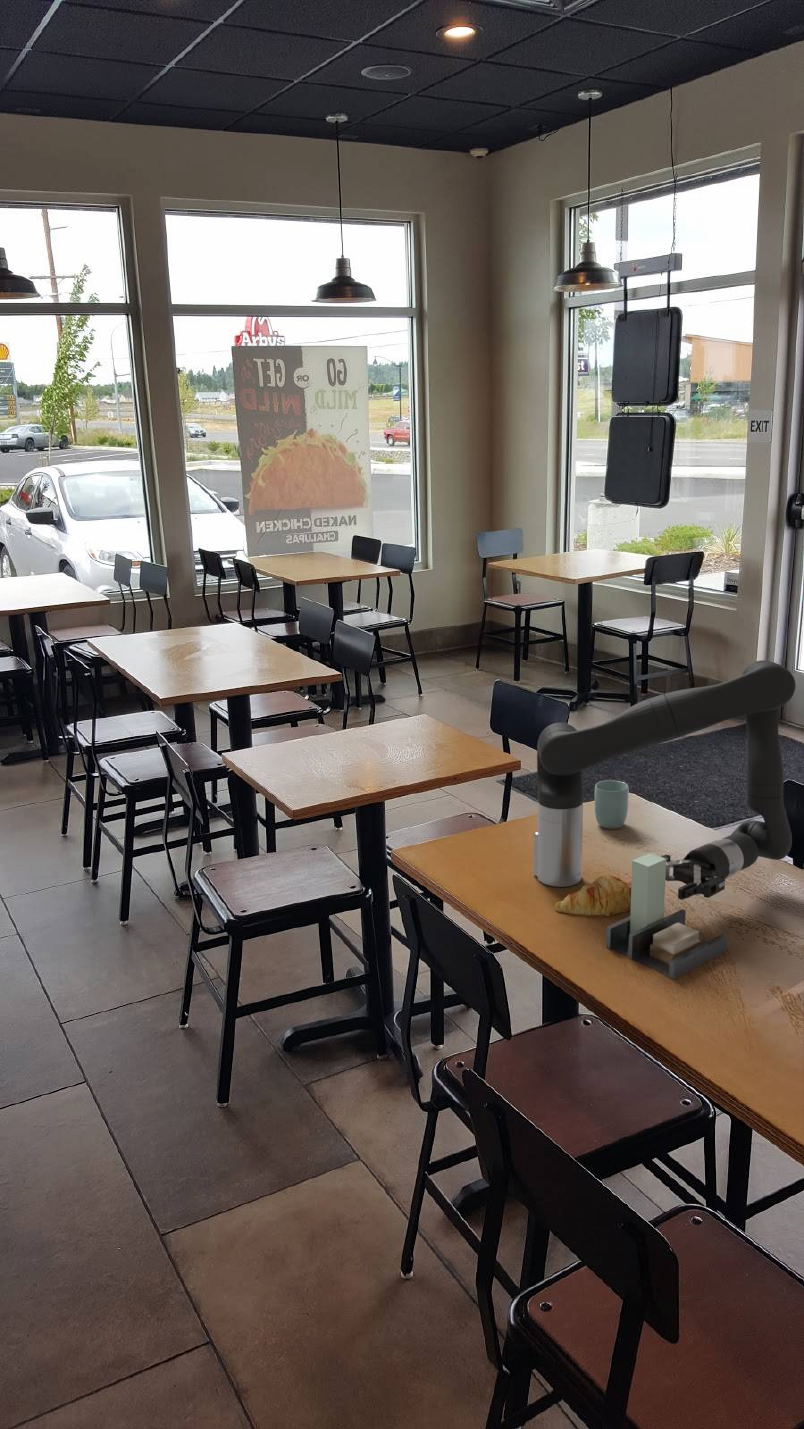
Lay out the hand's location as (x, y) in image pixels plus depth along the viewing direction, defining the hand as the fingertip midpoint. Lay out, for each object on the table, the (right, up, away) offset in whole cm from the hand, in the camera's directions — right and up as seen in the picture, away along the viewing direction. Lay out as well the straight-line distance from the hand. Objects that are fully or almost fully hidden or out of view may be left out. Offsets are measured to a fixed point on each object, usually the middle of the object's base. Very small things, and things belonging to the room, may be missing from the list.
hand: (660, 886), depth 198 cm
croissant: (-7, -7, +16) cm, 19 cm away
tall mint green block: (-3, -10, +1) cm, 10 cm away
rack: (0, -12, -2) cm, 12 cm away
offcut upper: (+1, -9, -5) cm, 11 cm away
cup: (+2, +5, +56) cm, 56 cm away
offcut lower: (+2, -11, -4) cm, 12 cm away
